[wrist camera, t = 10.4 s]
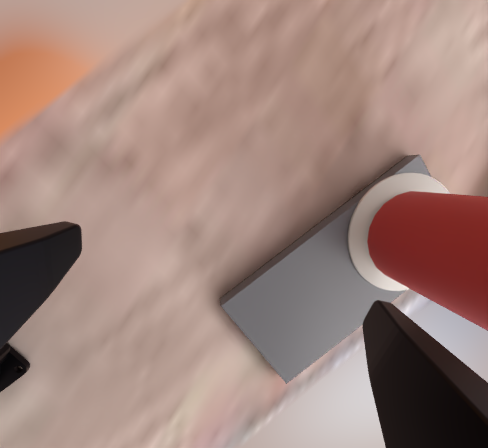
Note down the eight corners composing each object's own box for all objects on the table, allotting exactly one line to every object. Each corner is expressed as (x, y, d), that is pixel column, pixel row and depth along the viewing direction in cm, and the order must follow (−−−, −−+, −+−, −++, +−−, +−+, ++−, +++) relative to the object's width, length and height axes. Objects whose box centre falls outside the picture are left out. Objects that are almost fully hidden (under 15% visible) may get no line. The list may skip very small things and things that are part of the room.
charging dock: (283, 375, 23) (289, 388, 22) (217, 296, 21) (219, 305, 20) (458, 239, 24) (475, 243, 22) (411, 148, 22) (427, 147, 20)
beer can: (444, 185, 21) (757, 201, 9) (440, 270, 22) (711, 377, 10) (361, 195, 20) (594, 226, 8) (362, 282, 21) (566, 416, 10)
